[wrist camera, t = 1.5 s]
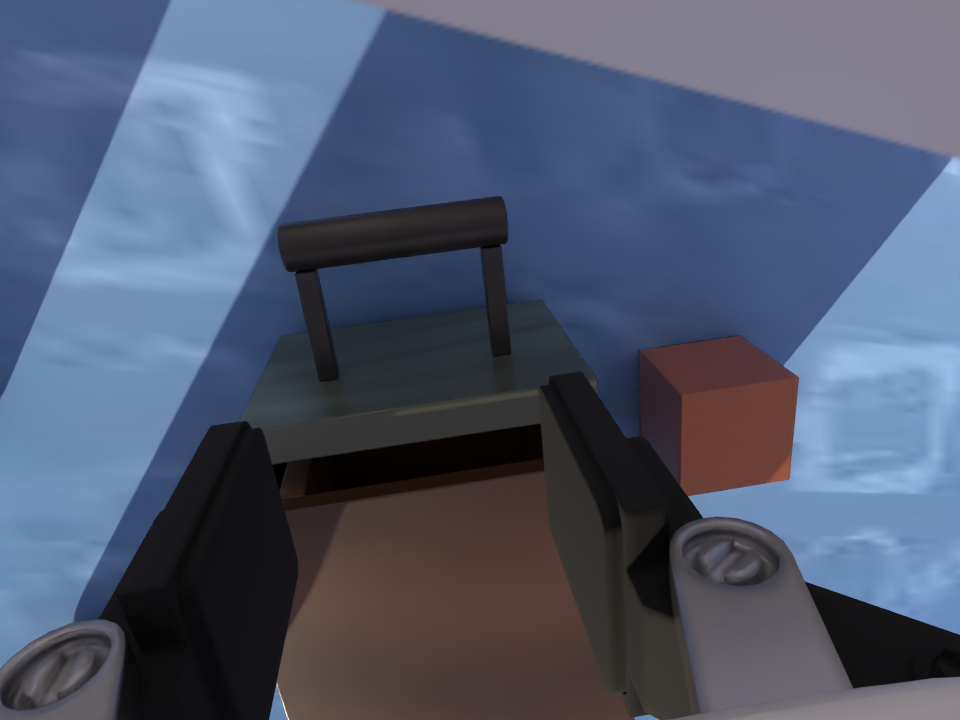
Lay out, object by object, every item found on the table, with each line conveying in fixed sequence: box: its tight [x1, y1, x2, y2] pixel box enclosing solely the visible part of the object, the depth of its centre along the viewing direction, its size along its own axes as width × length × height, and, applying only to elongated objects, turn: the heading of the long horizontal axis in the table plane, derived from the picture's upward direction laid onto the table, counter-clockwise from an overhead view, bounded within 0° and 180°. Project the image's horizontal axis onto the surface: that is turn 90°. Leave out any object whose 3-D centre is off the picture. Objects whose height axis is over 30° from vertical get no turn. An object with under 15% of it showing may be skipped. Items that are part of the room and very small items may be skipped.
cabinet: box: [273, 458, 634, 720], centre depth 25 cm, size 14×11×9 cm
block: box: [640, 336, 799, 496], centre depth 27 cm, size 4×4×4 cm
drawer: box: [240, 196, 598, 499], centre depth 23 cm, size 18×10×8 cm, turn 6°
